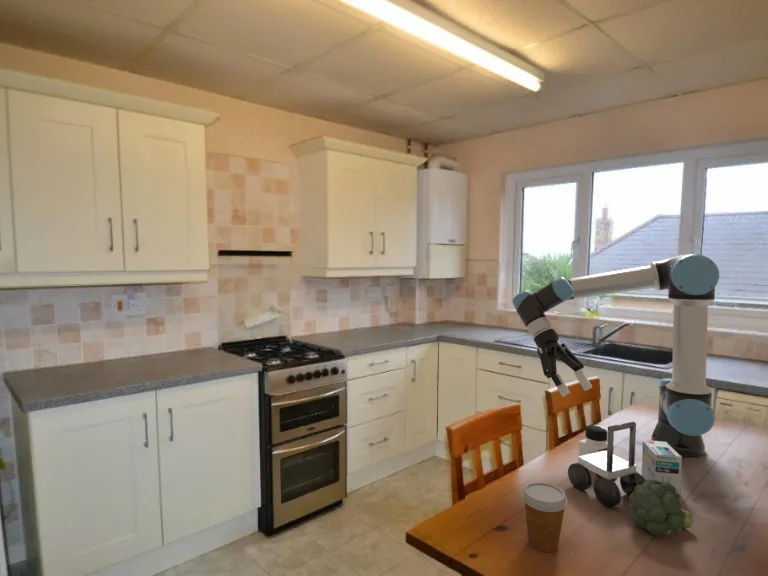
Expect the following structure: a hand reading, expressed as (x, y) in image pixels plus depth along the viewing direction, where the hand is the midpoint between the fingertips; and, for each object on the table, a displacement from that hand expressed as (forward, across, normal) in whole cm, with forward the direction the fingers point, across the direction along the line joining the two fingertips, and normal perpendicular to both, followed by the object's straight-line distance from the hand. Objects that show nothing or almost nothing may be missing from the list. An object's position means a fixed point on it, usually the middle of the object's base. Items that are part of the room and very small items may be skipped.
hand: (577, 392), depth 144 cm
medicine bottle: (+21, -2, -9) cm, 23 cm away
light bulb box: (+31, -4, +5) cm, 32 cm away
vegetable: (+38, +19, +10) cm, 43 cm away
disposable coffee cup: (+30, +45, -1) cm, 54 cm away
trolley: (+27, +12, -1) cm, 30 cm away
